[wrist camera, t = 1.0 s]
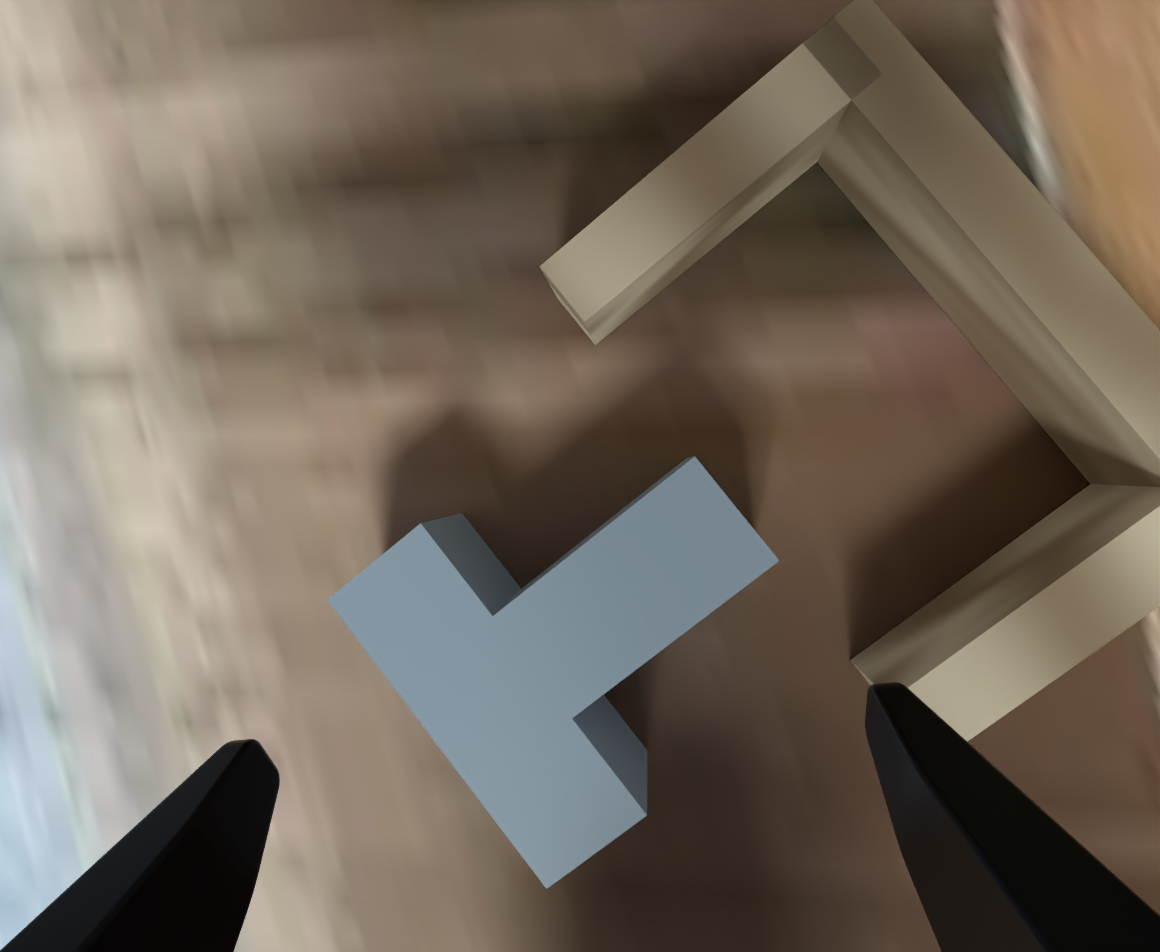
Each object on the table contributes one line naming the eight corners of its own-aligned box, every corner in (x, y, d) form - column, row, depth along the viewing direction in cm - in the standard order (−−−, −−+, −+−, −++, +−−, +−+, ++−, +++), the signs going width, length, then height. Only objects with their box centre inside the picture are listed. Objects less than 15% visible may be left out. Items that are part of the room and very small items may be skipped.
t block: (565, 811, 22) (546, 889, 18) (384, 575, 22) (327, 599, 18) (819, 622, 21) (859, 659, 17) (623, 380, 21) (617, 361, 17)
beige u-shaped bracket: (890, 710, 21) (940, 760, 17) (557, 298, 21) (539, 266, 18) (1190, 494, 20) (1307, 501, 16) (827, 71, 20) (864, -10, 17)
